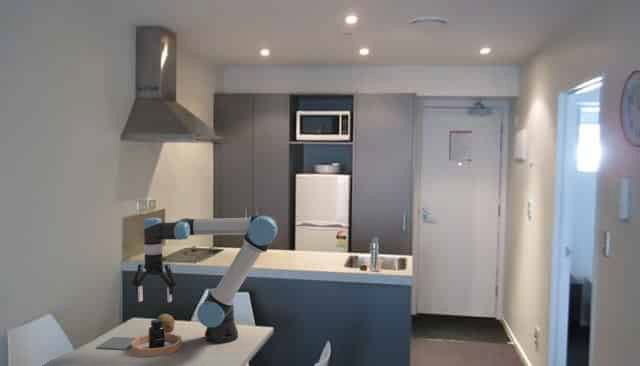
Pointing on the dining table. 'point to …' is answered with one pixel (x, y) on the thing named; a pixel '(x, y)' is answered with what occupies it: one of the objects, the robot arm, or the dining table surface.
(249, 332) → the dining table surface
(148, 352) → the pink polygonal hoop
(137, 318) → the dining table surface
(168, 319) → the natural sponge
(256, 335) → the dining table surface
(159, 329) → the supplement bottle
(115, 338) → the mat
